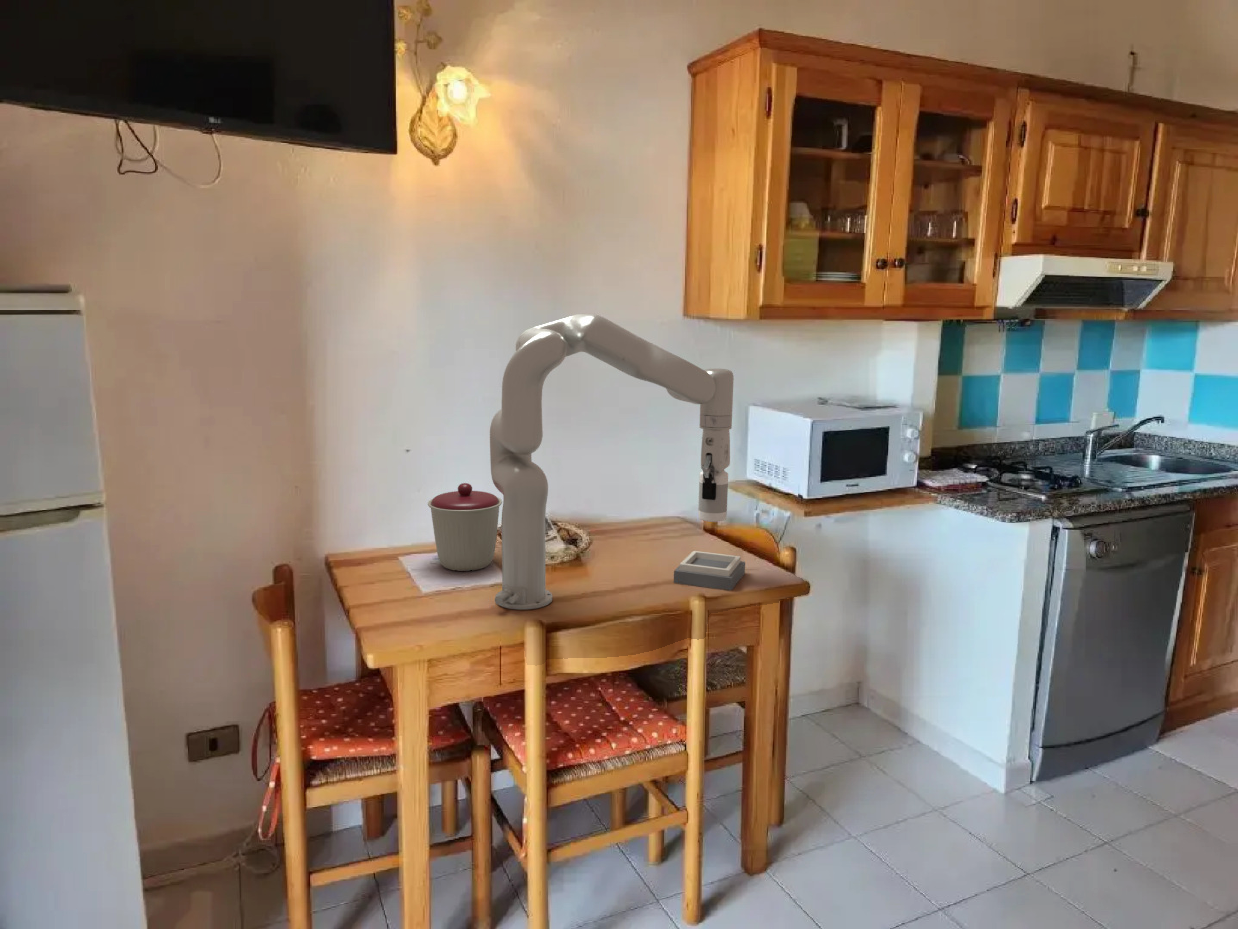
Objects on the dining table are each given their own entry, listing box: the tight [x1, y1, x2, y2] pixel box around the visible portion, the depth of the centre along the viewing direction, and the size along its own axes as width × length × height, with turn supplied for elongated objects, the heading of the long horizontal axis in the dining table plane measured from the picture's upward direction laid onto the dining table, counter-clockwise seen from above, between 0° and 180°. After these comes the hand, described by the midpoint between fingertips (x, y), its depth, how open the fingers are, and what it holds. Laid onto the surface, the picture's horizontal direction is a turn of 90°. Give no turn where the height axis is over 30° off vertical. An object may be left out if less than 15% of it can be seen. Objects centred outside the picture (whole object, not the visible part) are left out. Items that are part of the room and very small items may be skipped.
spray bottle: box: [697, 468, 729, 523], centre depth 202 cm, size 7×7×18 cm
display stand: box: [673, 550, 746, 591], centre depth 206 cm, size 14×14×4 cm
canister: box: [427, 482, 503, 572], centre depth 211 cm, size 18×18×21 cm
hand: (713, 495), depth 203 cm, fingers closed on spray bottle, 6 cm apart
